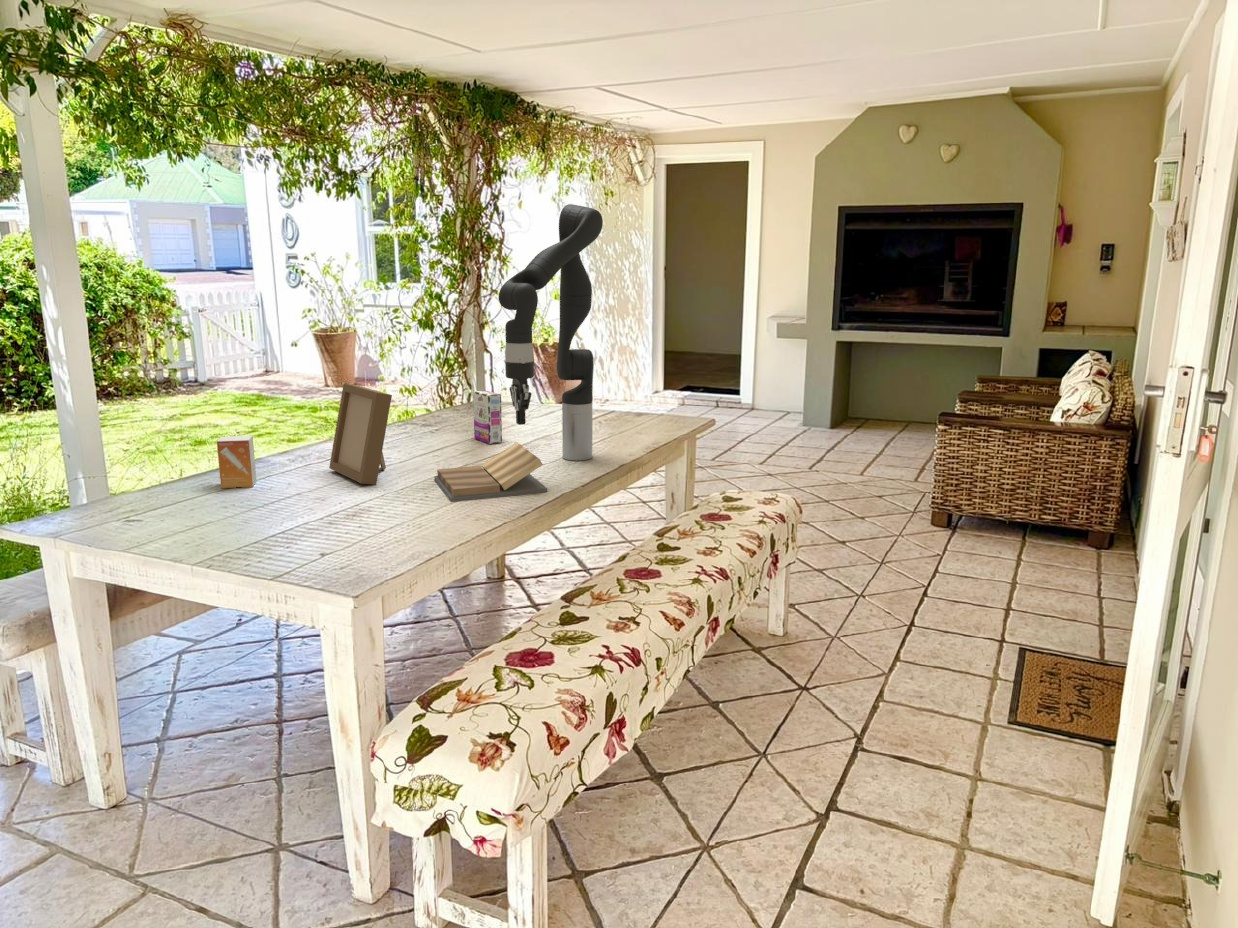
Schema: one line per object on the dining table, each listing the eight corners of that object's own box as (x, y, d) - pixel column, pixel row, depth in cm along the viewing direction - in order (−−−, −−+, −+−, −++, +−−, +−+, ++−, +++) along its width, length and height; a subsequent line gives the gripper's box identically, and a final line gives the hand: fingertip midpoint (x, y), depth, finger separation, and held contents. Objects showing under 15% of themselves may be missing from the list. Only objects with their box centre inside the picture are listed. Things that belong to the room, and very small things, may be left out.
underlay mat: (434, 479, 241) (434, 476, 240) (523, 471, 250) (523, 468, 250) (451, 501, 220) (450, 497, 220) (547, 492, 229) (547, 488, 229)
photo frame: (361, 487, 232) (356, 394, 227) (329, 471, 249) (324, 384, 243) (412, 479, 242) (408, 390, 236) (378, 464, 258) (374, 380, 252)
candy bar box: (503, 443, 287) (501, 394, 283) (489, 444, 284) (488, 395, 280) (486, 437, 296) (485, 389, 292) (473, 439, 293) (472, 390, 289)
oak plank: (484, 470, 245) (481, 465, 244) (520, 447, 247) (516, 441, 247) (504, 490, 225) (501, 484, 224) (542, 464, 228) (539, 458, 227)
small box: (220, 489, 230) (215, 441, 227) (225, 483, 236) (220, 436, 233) (253, 487, 232) (249, 439, 229) (257, 481, 238) (252, 434, 235)
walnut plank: (437, 476, 240) (437, 469, 240) (480, 472, 245) (480, 465, 244) (453, 496, 220) (453, 489, 220) (499, 492, 225) (499, 484, 224)
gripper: (499, 357, 235) (500, 421, 239) (512, 363, 223) (514, 429, 227) (525, 356, 237) (527, 419, 241) (540, 361, 226) (541, 427, 229)
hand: (520, 424), depth 234 cm, fingers closed
